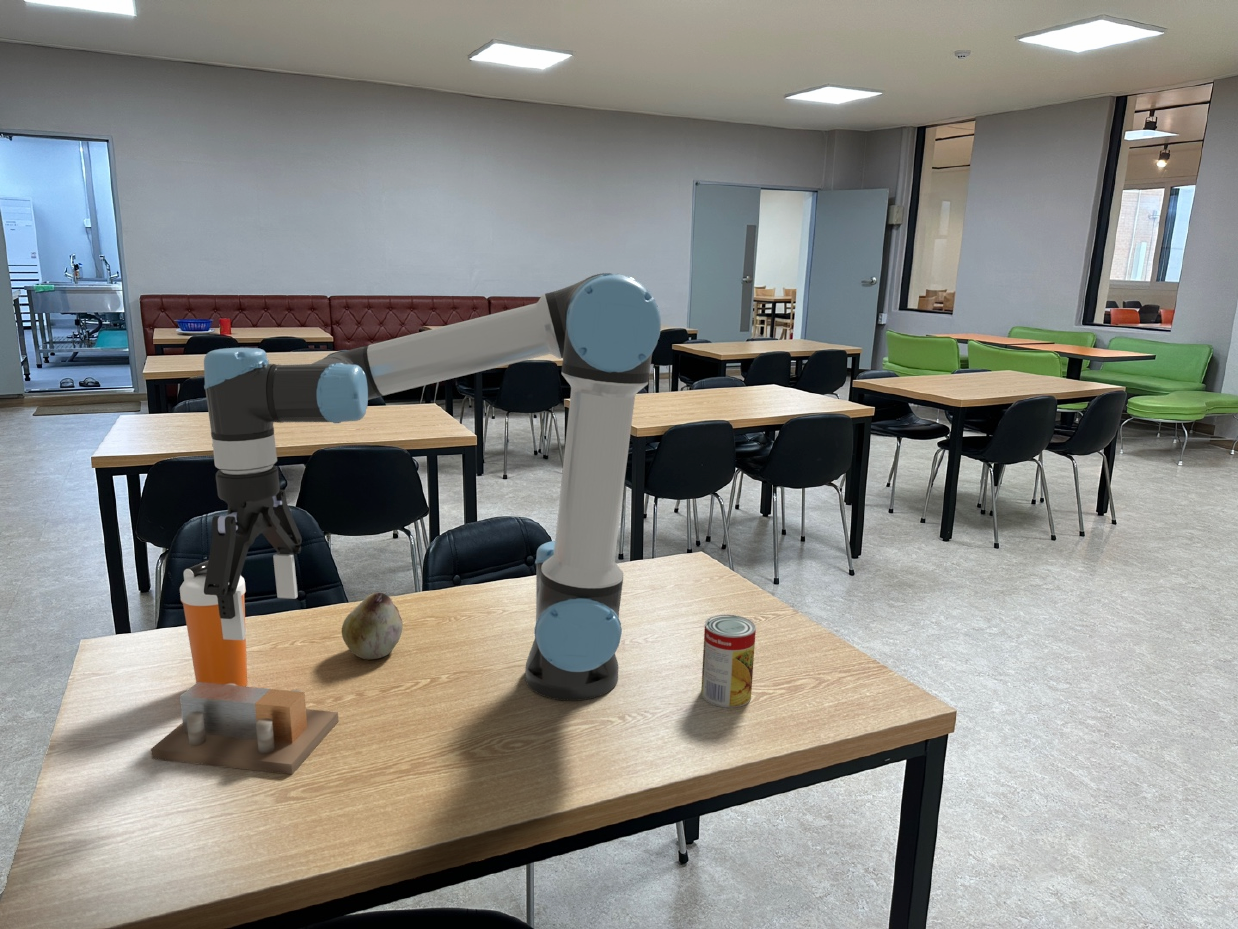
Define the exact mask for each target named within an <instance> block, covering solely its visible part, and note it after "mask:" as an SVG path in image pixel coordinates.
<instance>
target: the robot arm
mask: <svg viewBox="0 0 1238 929" xmlns="http://www.w3.org/2000/svg"><path fill="white" fill-rule="evenodd" d="M661 319H662V318H661V314H660V310H659V307H658V305H657V302H656V300H655V298H654V296H653V295H652V293H651V291H650V290H649V288H647V287H646V286H645V285H643V284H642V283H641V281H638V280H637V279H635V278H633V277H631V276H629V275H628V276H627V275H622V274H619V273H610V272H609V273H608V272H607V273H606V272H605V273H604V272H603V273H599V274H598V273H597V274H594V275H591V276H589V277H587V278H584V279H583V280H581V281H578V282H576V283H574V284H571V285H569V286H565V287H563V288H560V289H556V290H554V291H551V292H546V293H543V294H542V295H541V296H540V298H539V299H538V301H536V303H531V304H528V305H524V306H520V307H516V308H511V309H507V310H504V311H499V312H496V313H495V312H494V313H491V314H488V315H484V316H480V317H476V318H471V319H468V320H463V321H461V322H456V323H452V324H447V325H444V326H439V327H436V328H433V329H428V330H423V331H421V332H417V333H411V334H407V335H404V336H401V337H396V338H391V339H389V340H385V341H380V342H376V343H372V344H369V345H366V346H361V347H356V348H353V349H352V348H351V349H348V350H347V349H343V350H338V351H335V352H332V353H329V354H328V355H327V356H325V357H324V358H322V359H319V360H317V361H314V362H313V363H305V364H304V363H303V364H302V363H301V364H276V363H270V361H269V359H268V357H267V353H266V352H267V351H265V350H264V349H261V348H258V347H254V348H253V347H230V348H229V347H226V348H219V349H214V350H211V351H209V352H207V353H206V354H205V355H204V358H203V370H204V371H203V372H204V373H203V374H204V385H203V387H204V390H205V397H206V405H207V411H208V419H209V425H210V435H211V441H212V443H211V444H212V445H211V446H212V449H213V460H214V466H215V468H217V469H218V470H217V472H216V473H215V482H216V490H217V491H216V492H217V496H218V498H219V499H220V500H221V501H224V502H225V503H226V504H227V513H226V515H214V516H213V517H212V520H211V523H212V524H211V526H212V537H211V543H210V549H209V556H208V560H207V561H208V567H207V573H206V579H205V585H204V594H205V595H216V596H217V599H218V607H219V615H220V618H221V625H222V633H223V639H228V640H244V639H245V638H246V639H247V635H246V634H247V633H245V630H246V623H245V624H244V615H243V606H242V597H241V591H236V589H237V586H238V582H239V579H240V575H241V576H242V573H243V569H244V566H245V562H246V558H247V555H248V551H249V548H250V547H251V546H252V545H253V544H254V543H255V540H256V538H258V536H260V535H261V534H262V536H264V537H265V539H266V540H267V541H268V542H269V544H270V545H271V546H272V547H273V549H274V550H275V551H276V552H277V553H275V554H273V565H274V566H273V567H274V576H275V586H276V594H277V597H276V598H278V599H294V600H295V599H297V598H298V595H299V594H298V584H297V576H296V566H295V556H294V555H295V554H300V553H301V551H302V545H301V544H302V541H303V539H302V536H301V532H300V531H299V529H298V526H297V523H296V522H295V519H294V516H293V514H292V512H291V510H290V507H289V505H288V501H287V496H286V491H285V490H284V489H281V485H280V479H279V478H280V477H279V469H278V467H277V466H276V465H275V464H276V463H277V462H278V455H277V446H276V438H275V428H274V427H275V426H274V423H280V424H281V423H332V424H341V423H344V422H345V423H346V422H358V421H361V420H362V419H363V418H364V417H365V415H366V412H367V409H368V403H369V402H368V401H369V400H373V399H376V398H380V397H382V396H387V395H390V394H395V393H399V392H403V391H407V390H410V389H416V388H419V387H423V386H427V385H430V384H434V383H439V382H442V381H446V380H448V381H449V380H451V379H454V378H459V377H463V376H468V375H471V374H475V373H479V372H484V371H486V370H491V369H496V368H499V367H503V366H508V365H512V364H516V363H520V362H524V361H527V360H532V359H536V358H540V357H543V356H548V355H551V356H554V357H555V358H558V359H562V364H561V375H562V376H563V378H564V379H565V380H566V382H567V383H568V384H569V385H570V398H569V407H568V415H567V416H568V417H567V426H566V436H565V443H564V444H565V445H564V446H565V447H564V454H563V455H564V456H563V464H562V472H561V483H560V491H559V492H560V493H559V503H558V510H557V522H556V531H555V539H554V540H552V541H548V542H545V543H543V544H541V545H540V546H538V548H537V550H536V559H535V566H536V567H535V568H536V571H535V572H536V575H535V576H536V578H535V580H536V582H535V583H536V586H535V587H536V588H535V589H536V592H535V593H536V594H535V597H536V598H535V600H536V601H535V603H536V604H535V607H536V608H535V616H536V617H535V625H534V640H533V642H532V645H531V648H530V651H529V654H528V655H527V656H528V657H527V660H526V663H525V682H526V684H527V686H528V687H529V688H530V689H531V690H532V691H533V692H535V693H536V694H538V695H541V696H543V697H546V698H550V699H554V700H562V701H584V700H589V699H593V698H599V697H600V696H604V695H605V694H607V693H609V692H610V691H611V690H612V689H614V688H615V686H616V685H617V684H618V682H619V681H618V680H619V662H618V659H617V656H616V652H617V650H618V648H619V646H620V643H621V642H620V641H621V638H622V623H621V619H620V607H621V599H622V590H623V584H624V576H625V575H624V572H623V570H622V569H621V568H620V566H619V565H618V563H616V562H615V561H616V560H615V559H616V552H617V546H618V545H617V544H618V537H619V536H618V535H619V529H620V521H621V520H620V519H621V512H622V504H623V497H624V496H623V495H624V487H625V482H626V480H625V479H626V472H627V463H628V456H629V448H630V439H631V433H632V432H631V431H632V422H633V414H634V409H635V407H634V406H635V398H636V395H637V394H638V392H640V391H641V390H642V389H644V388H645V387H646V386H648V384H649V379H650V378H649V377H650V370H651V366H652V364H651V363H652V356H653V352H654V350H655V349H656V347H657V345H658V342H659V341H658V340H660V337H661V336H660V335H661V330H662V329H661V328H662V327H661V325H662V320H661ZM228 584H229V585H228Z"/></svg>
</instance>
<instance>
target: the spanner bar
mask: <svg viewBox="0 0 1238 929" xmlns="http://www.w3.org/2000/svg"><path fill="white" fill-rule="evenodd" d="M305 694H306V693H305V691H302V692H297V691H292V690H287V689H286V690H284V689H274V688H264V687H254V686H235V685H225V684H215V683H204V682H197V683H196V682H195V684H193V685H192V686H191V687H190V688H188V689H187V690H185V692H183V693H182V694H181V695H179V702H180V709H181V710H180V712H181V718H182V723H183V729H184V732H188V727H187V718H186V716H187V715H188V714H190V713H192V712H197V711H199V712H202V713H203V718H204V728H205V734H207V735H217V736H226V737H236V738H245V739H255V740H257V729H256V723H257V722H258V721H259V720H261V719H266V718H268V719H271V720H272V723H273V734H274V742H283V743H292V744H293V742H294V741H295V740H296V739H297V738H298V737H299V736H300V735H301V734H302V733H303V732H304V731H305V729H306V728H307V718H306V709H307V708H306V706H307V705H306V695H305Z"/></svg>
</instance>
